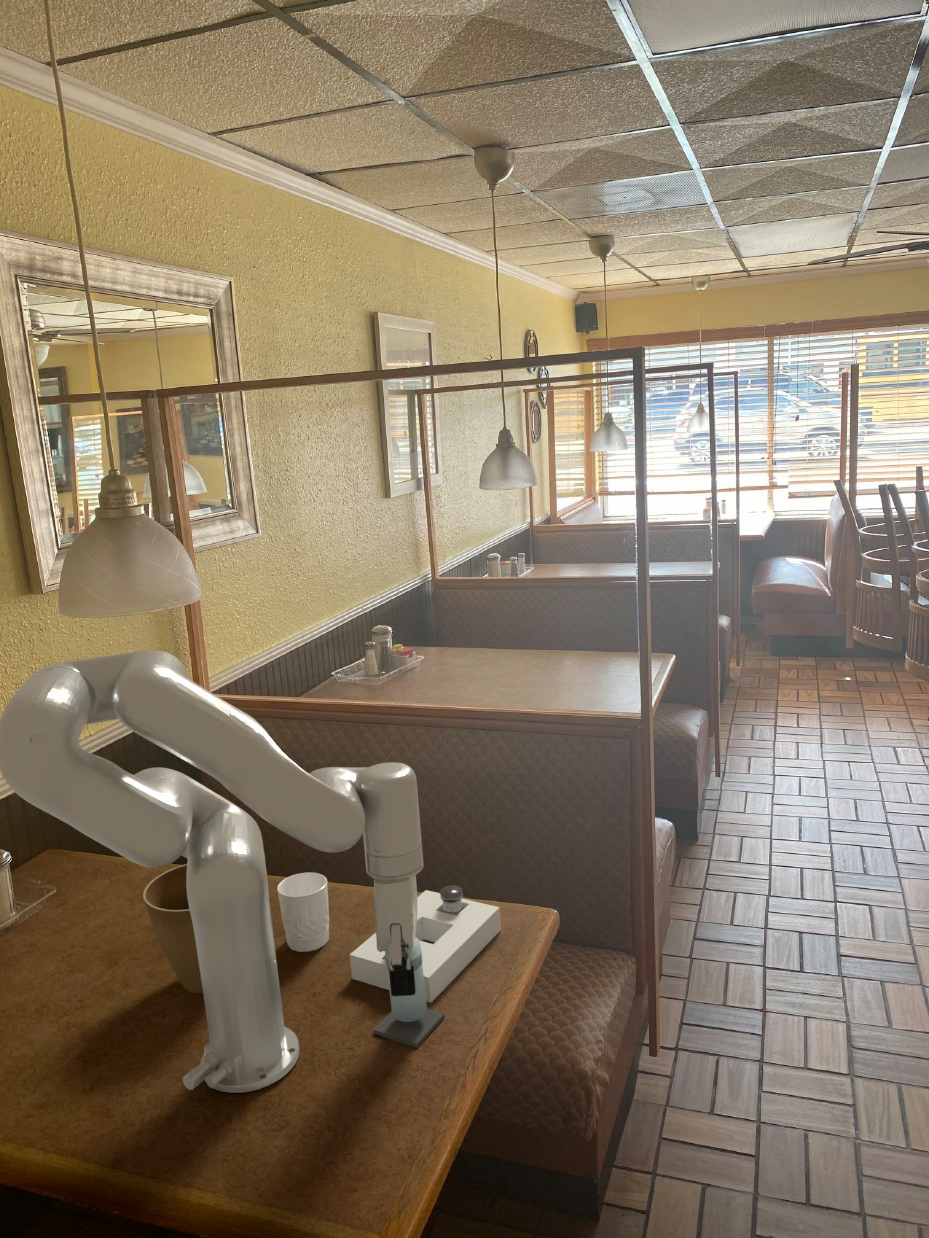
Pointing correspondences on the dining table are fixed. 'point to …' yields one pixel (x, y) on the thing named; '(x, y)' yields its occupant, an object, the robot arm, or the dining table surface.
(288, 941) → the white cup
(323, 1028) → the dining table surface
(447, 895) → the dark capped shaker
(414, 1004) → the cylinder
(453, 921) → the housing
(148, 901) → the plant pot
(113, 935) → the dining table surface
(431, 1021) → the mat
